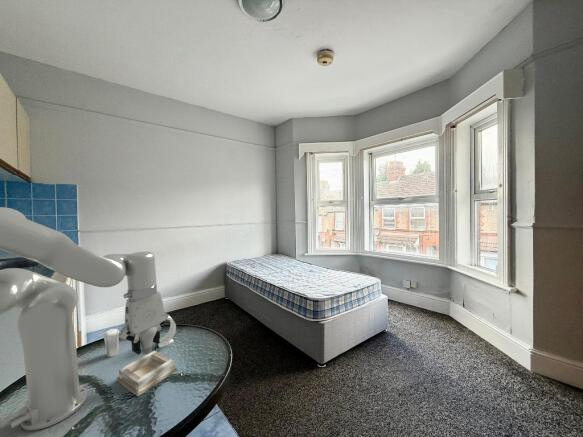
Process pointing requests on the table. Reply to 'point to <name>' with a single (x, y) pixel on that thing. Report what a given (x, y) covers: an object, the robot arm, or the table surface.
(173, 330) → the white curved piece
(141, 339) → the lightbulb
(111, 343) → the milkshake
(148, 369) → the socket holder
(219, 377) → the table surface
